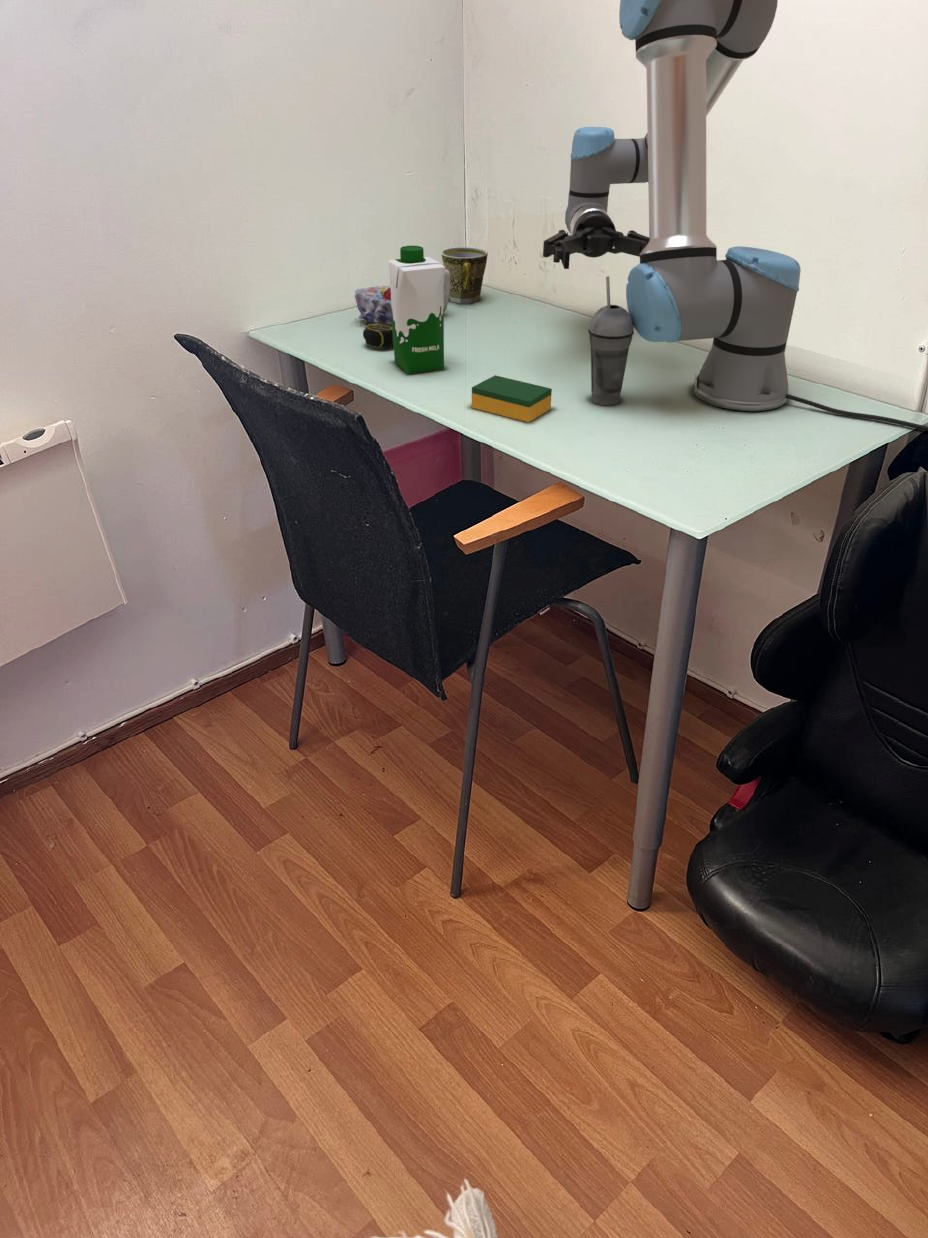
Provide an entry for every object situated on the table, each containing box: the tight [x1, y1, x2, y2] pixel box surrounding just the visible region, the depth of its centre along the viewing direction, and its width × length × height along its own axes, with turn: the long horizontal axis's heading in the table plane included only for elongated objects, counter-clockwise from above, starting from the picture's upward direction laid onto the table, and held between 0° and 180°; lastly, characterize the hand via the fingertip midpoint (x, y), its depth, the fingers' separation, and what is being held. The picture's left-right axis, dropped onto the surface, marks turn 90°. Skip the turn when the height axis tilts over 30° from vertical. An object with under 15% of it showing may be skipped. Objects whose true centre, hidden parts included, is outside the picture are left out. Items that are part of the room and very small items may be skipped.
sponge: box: [471, 375, 553, 423], centre depth 149 cm, size 11×7×4 cm, turn 55°
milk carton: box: [388, 245, 445, 375], centre depth 161 cm, size 9×9×20 cm
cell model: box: [354, 269, 450, 324], centre depth 188 cm, size 13×11×20 cm
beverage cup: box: [587, 275, 635, 406], centre depth 148 cm, size 7×7×20 cm
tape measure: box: [362, 322, 393, 349], centre depth 176 cm, size 7×7×4 cm
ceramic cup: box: [441, 246, 489, 305], centre depth 199 cm, size 13×10×10 cm
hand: (608, 260), depth 150 cm, fingers open, 13 cm apart
